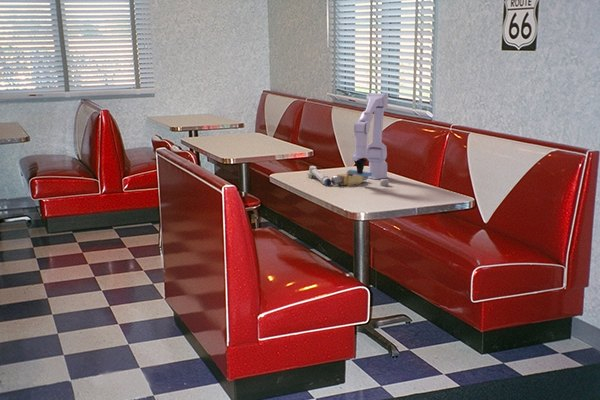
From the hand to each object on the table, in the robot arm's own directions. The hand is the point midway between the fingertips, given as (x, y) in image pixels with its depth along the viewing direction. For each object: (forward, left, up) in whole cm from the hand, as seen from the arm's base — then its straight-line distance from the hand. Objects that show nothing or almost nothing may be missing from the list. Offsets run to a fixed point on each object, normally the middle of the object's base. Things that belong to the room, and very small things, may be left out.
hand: (359, 173), depth 362 cm
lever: (-1, -2, -2) cm, 3 cm away
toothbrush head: (+8, -21, -7) cm, 24 cm away
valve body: (0, -7, -6) cm, 10 cm away
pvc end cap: (-11, +6, -6) cm, 14 cm away
